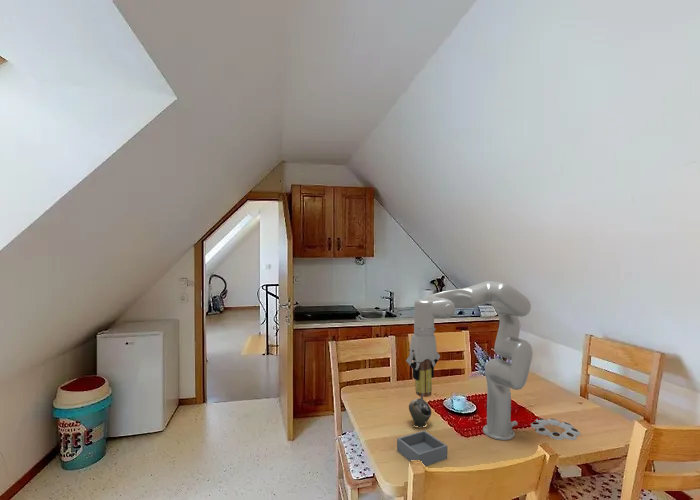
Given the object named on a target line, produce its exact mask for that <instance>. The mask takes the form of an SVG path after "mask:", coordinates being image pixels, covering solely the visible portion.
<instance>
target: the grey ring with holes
mask: <svg viewBox="0 0 700 500" xmlns="http://www.w3.org/2000/svg"><path fill="white" fill-rule="evenodd" d="M538 419H540V420H538ZM535 421H536V422H535ZM533 423H537V424H533ZM530 424H531V426H530V427H531V428H533V429H535V432H536V433H537V434H538V435H541V436H548V437H550V438H551V439H554V440H557V441H559V440H560V441H561V440H562V441H563V440H564V439H565V440H571V441H575V440H577V439H578V438H577V436H578V437H579V436H580V435H581V432H580V431H579V430H578V429H576V428H574V426H573V425H572V424H571V423H569V422H565V421H563V422H560V421H559V420H558V419H556V418H548V419H545V418H536V419H535V420H534V422H531V423H530ZM549 425H552V426H557V427H558V426H559V427H560V428H561V429H564V432H562V433H560V432H558V431H550V430H549V429H547V428H546V426H549ZM541 430H542V431H541ZM554 434H555V435H554ZM569 434H570V435H571V436H570V435H569ZM556 435H559V436H556Z"/></svg>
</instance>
